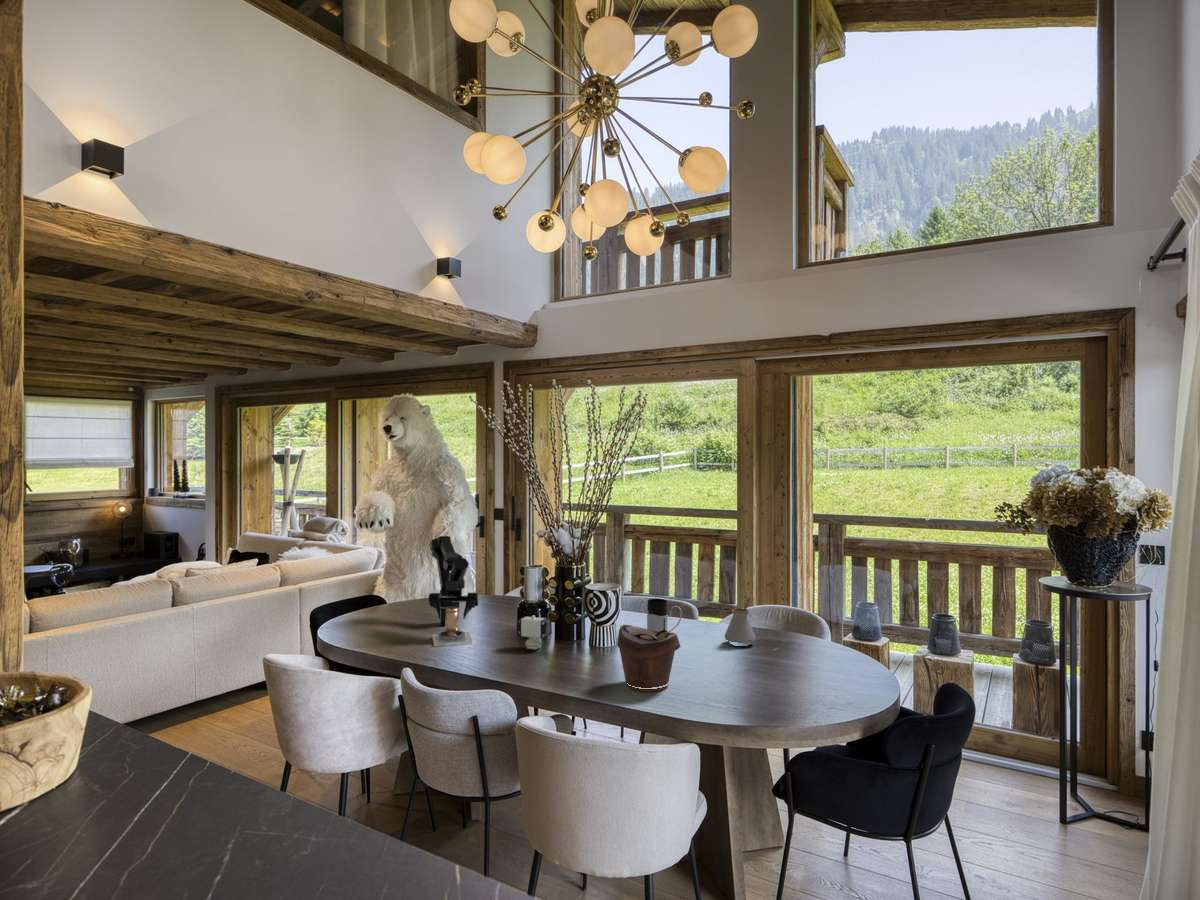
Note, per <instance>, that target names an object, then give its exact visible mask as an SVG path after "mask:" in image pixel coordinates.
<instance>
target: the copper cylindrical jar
mask: <svg viewBox="0 0 1200 900" xmlns="http://www.w3.org/2000/svg"><path fill="white" fill-rule="evenodd" d="M459 612H460V607H459V608H457V607H449V608H446V609H445V626H444V627H445V631H444V632H445V636H457V635H459V631H460V630H459V629H460V624H459V622H460V621H459V619H460V618H459V617H460V615H459Z"/></svg>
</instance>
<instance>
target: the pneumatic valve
mask: <svg viewBox="0 0 1200 900" xmlns="http://www.w3.org/2000/svg"><path fill="white" fill-rule="evenodd" d="M515 627H516V631H517V632H518V634H519V637H527V638H528V639H526V641H525V647H526V649H527V650H535V651H536V650H537V649H539V648H540V647H541V646H542V642H541V639H543V638H544V637H545V638H546V636H548V635H549V634H550V632H551V623H550V622H549V621H548V618H547V617H536V615H531V616H523V617H521V618H520V619H518V621H517V623H516V626H515Z"/></svg>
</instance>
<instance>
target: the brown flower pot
mask: <svg viewBox="0 0 1200 900" xmlns="http://www.w3.org/2000/svg"><path fill="white" fill-rule="evenodd" d="M617 635H618V636H617V647H618V649H619V652H620V658H621V664H622V669H623V675H624V679H625V685H626V686H627V688H629V689H631V690H633V691H637V692H640V693H641V692H642V693H651V692H652V693H653V692H660V691H663V690H666V689H667V688H668V687H669V682H670V676H671V673H672V672H671V671H672V666H673V662H674V656H675V653H676V652H675V651H677V650H679V649H680V648H681V643H680V640H679V637H678V635H677V634H676V633H675V632H669V630H667V631H666V630H662V631H660V632H657V631H652V630H648V629H647V628H645V627H644V628H643V627H638V626H634V625H632V624H631V625H630V624H622V625H621V626H620V628H619V629H618V633H617ZM627 683H628V684H629V685H631V686H629V685H628V684H627ZM667 683H668V685H667V686H665V687H662V688H657V689H639V688H635V687H641V688H652V687H659V686H663V685H666V684H667ZM632 686H635V687H632Z"/></svg>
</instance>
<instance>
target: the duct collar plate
mask: <svg viewBox="0 0 1200 900" xmlns="http://www.w3.org/2000/svg"><path fill="white" fill-rule="evenodd" d="M431 637H432V642H433V646H434V647H445V646H457V645H471V644H473V638H472V637H471V634H470V631H462V630H459V635H457V636H445V631H441V632H440V633H432V635H431Z"/></svg>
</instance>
